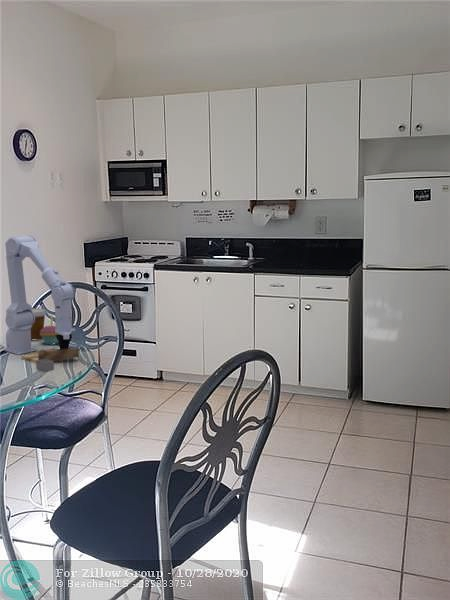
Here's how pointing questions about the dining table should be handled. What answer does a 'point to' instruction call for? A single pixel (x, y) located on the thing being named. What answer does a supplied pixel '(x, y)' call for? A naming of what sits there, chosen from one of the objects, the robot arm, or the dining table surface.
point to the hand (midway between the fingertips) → (64, 354)
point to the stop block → (44, 365)
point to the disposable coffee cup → (37, 323)
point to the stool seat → (34, 357)
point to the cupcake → (49, 333)
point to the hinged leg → (58, 353)
